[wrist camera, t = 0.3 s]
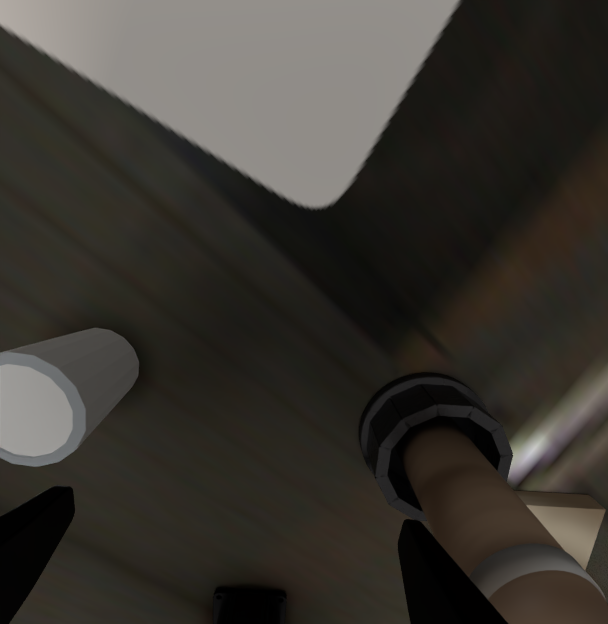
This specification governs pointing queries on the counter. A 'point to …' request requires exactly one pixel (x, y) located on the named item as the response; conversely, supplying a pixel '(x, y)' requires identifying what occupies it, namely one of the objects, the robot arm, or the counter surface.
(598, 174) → the counter surface
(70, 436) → the shot glass
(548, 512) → the beige cloth napkin
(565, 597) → the tapered cup
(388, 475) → the cup
